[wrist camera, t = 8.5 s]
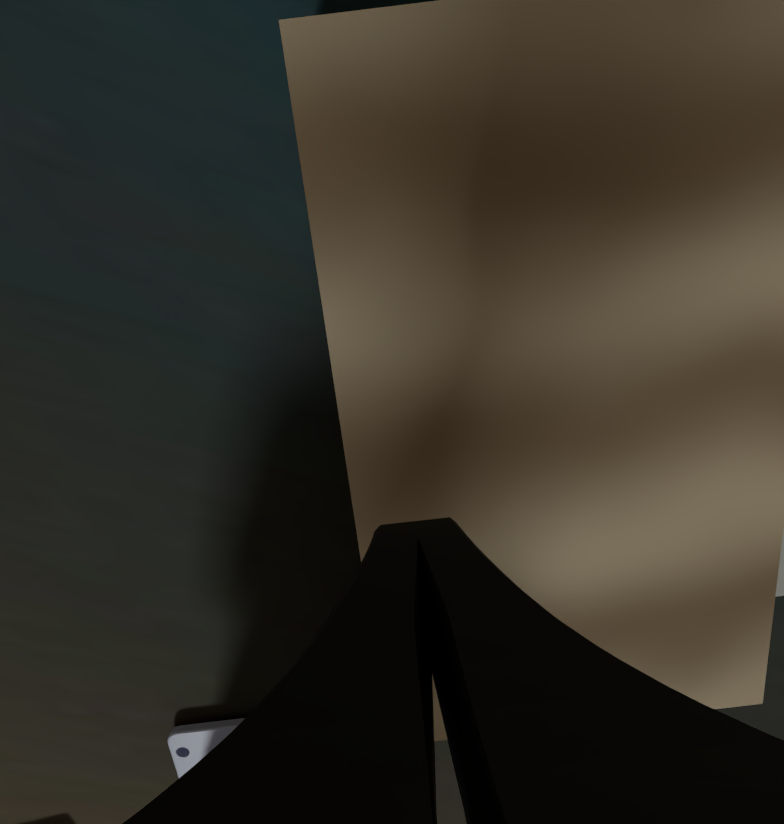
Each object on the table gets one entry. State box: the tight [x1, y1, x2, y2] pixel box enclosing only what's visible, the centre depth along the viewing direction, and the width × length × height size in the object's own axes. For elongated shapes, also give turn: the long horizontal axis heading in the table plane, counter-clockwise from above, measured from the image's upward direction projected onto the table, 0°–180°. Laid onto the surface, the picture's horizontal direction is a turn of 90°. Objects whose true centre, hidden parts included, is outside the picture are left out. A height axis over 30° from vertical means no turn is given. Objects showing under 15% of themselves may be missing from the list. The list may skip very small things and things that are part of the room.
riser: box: [279, 0, 784, 741], centre depth 16 cm, size 20×12×4 cm, turn 7°
